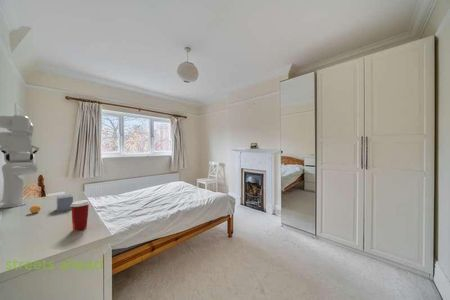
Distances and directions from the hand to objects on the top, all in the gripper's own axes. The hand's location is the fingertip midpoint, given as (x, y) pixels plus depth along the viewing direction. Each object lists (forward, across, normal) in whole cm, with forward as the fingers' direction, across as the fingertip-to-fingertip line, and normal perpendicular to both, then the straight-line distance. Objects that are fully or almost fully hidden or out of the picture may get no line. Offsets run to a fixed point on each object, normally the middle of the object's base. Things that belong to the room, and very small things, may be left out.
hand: (20, 160), depth 116 cm
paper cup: (+36, -25, +57) cm, 72 cm away
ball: (+32, -7, +6) cm, 33 cm away
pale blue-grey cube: (+34, -21, +10) cm, 42 cm away
